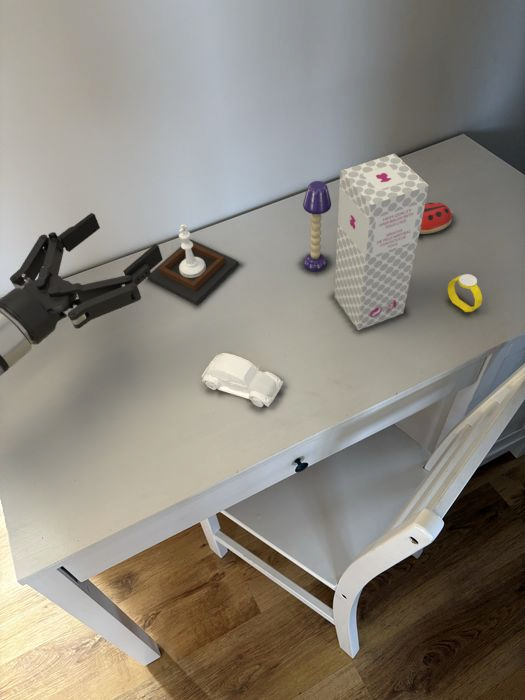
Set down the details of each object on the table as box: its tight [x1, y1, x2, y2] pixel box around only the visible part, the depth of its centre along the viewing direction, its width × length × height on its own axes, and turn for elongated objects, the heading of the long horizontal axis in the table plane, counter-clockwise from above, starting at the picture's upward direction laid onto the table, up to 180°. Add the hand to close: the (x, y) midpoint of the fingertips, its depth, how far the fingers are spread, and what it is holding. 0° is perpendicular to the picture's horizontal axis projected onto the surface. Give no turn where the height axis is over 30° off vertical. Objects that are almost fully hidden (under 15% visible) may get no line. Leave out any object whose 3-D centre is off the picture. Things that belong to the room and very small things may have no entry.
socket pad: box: [147, 238, 240, 306], centre depth 98 cm, size 12×12×2 cm
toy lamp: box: [302, 180, 332, 272], centre depth 92 cm, size 5×5×17 cm
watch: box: [447, 273, 483, 313], centre depth 87 cm, size 6×3×6 cm, turn 34°
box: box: [334, 153, 430, 331], centre depth 81 cm, size 8×8×25 cm
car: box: [200, 352, 284, 408], centre depth 81 cm, size 12×6×5 cm, turn 61°
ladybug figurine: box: [419, 202, 454, 235], centre depth 101 cm, size 7×10×4 cm
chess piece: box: [178, 223, 206, 278], centre depth 95 cm, size 5×5×10 cm
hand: (126, 235), depth 81 cm, fingers open, 13 cm apart
